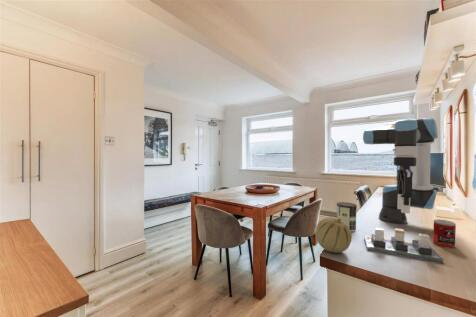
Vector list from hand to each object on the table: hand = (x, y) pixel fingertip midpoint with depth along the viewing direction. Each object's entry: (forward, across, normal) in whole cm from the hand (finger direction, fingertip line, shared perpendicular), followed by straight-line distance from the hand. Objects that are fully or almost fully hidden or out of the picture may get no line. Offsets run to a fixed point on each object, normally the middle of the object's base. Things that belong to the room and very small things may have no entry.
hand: (403, 210), depth 93 cm
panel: (+19, -6, 0) cm, 20 cm away
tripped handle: (+15, -5, 0) cm, 16 cm away
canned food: (+19, -22, +21) cm, 36 cm away
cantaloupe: (+19, +10, -27) cm, 34 cm away
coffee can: (+19, -26, -21) cm, 39 cm away
